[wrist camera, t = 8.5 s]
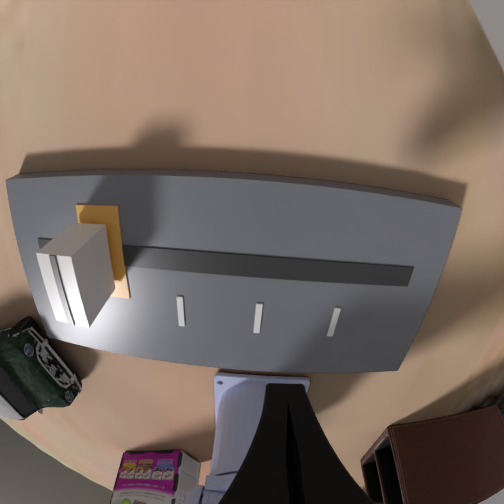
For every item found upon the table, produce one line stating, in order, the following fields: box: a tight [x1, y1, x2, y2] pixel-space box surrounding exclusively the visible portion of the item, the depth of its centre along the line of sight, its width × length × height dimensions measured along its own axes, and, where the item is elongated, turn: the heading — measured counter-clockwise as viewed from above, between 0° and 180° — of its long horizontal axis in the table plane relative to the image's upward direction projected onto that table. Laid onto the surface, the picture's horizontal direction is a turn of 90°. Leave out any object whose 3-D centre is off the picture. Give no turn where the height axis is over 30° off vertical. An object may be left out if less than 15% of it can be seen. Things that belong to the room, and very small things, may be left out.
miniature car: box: [0, 316, 82, 420], centre depth 23 cm, size 9×18×8 cm, turn 109°
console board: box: [6, 169, 462, 373], centre depth 19 cm, size 14×30×2 cm, turn 86°
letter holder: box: [361, 404, 504, 504], centre depth 25 cm, size 10×20×14 cm, turn 85°
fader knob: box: [36, 223, 116, 328], centre depth 15 cm, size 4×2×4 cm, turn 176°
